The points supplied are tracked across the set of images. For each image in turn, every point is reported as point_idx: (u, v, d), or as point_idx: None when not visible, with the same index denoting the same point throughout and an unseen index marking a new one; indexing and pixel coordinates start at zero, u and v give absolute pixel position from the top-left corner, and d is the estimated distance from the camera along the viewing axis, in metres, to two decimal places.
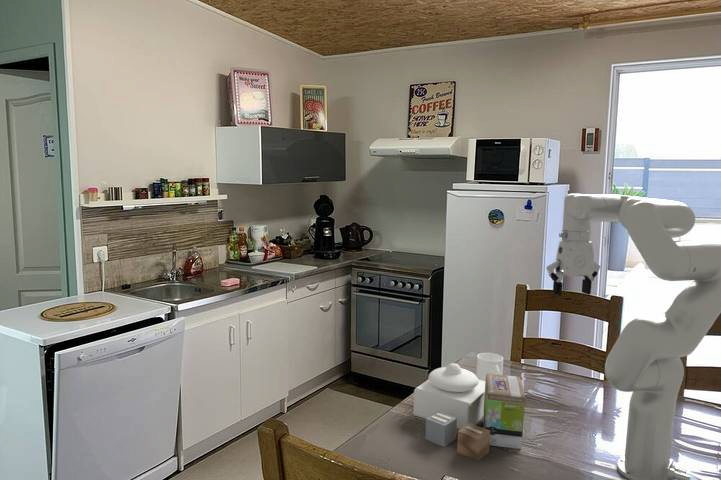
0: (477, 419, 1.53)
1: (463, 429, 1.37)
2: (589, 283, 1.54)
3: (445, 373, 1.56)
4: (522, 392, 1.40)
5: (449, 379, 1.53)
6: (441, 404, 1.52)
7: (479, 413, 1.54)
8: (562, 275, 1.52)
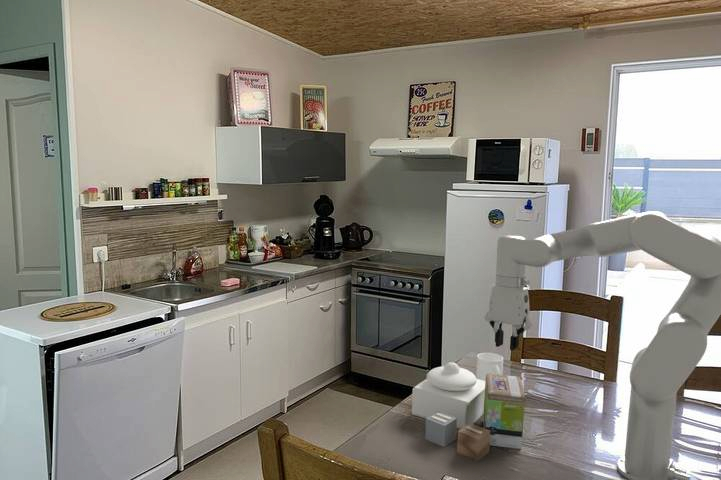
0: (475, 418, 1.54)
1: (463, 429, 1.37)
2: None
3: (443, 372, 1.57)
4: (522, 392, 1.40)
5: (447, 378, 1.54)
6: (440, 403, 1.52)
7: (477, 412, 1.55)
8: None
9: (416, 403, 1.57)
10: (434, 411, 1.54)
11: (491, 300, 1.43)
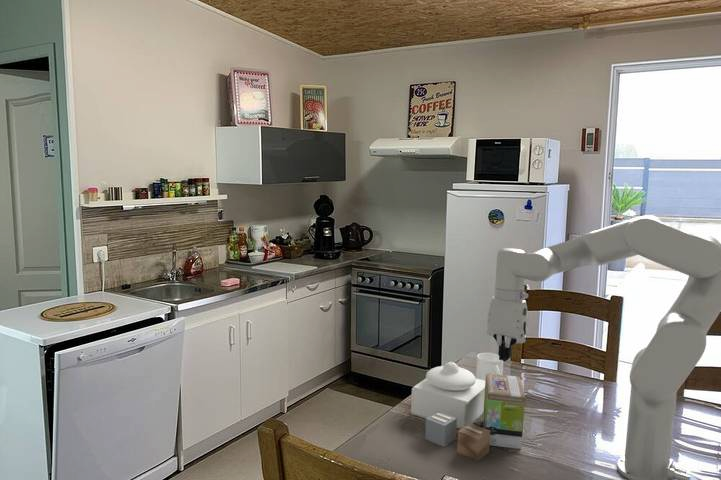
0: (474, 418, 1.54)
1: (463, 429, 1.37)
2: None
3: (442, 372, 1.57)
4: (522, 392, 1.40)
5: (446, 378, 1.54)
6: (439, 403, 1.53)
7: (476, 411, 1.55)
8: None
9: (415, 403, 1.57)
10: (433, 411, 1.54)
11: (490, 312, 1.44)
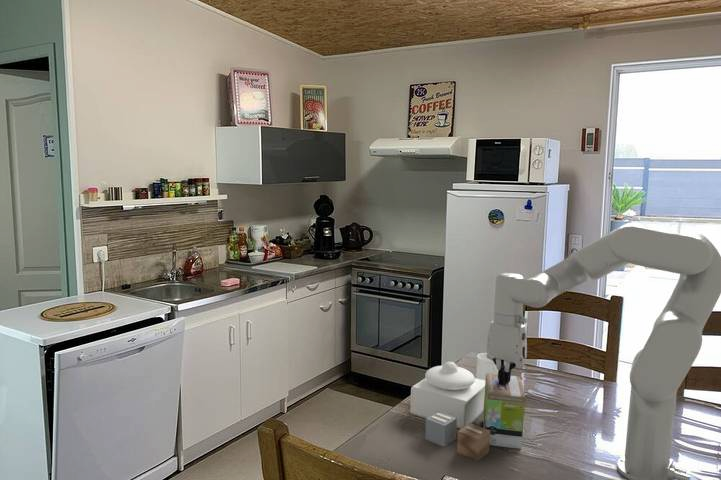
0: (473, 417, 1.55)
1: (463, 429, 1.37)
2: None
3: (441, 371, 1.58)
4: (522, 392, 1.40)
5: (445, 377, 1.54)
6: (438, 402, 1.53)
7: (475, 411, 1.56)
8: None
9: (414, 402, 1.58)
10: (432, 410, 1.54)
11: (489, 337, 1.44)
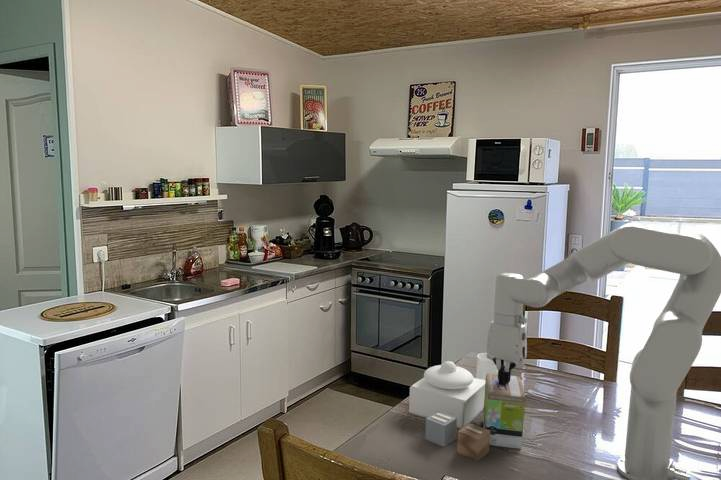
0: (472, 416, 1.55)
1: (463, 429, 1.37)
2: None
3: (440, 371, 1.58)
4: (522, 392, 1.40)
5: (444, 376, 1.55)
6: (437, 402, 1.53)
7: (474, 410, 1.56)
8: None
9: (413, 401, 1.58)
10: (431, 409, 1.55)
11: (489, 336, 1.44)
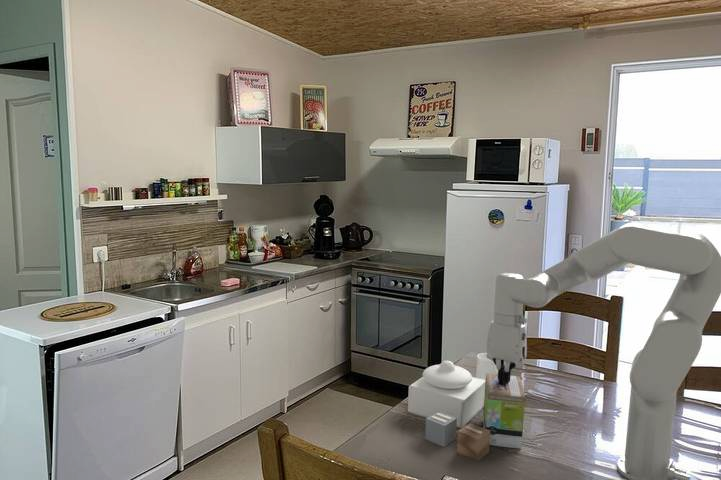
0: (471, 416, 1.55)
1: (463, 429, 1.37)
2: None
3: (439, 370, 1.58)
4: (522, 392, 1.40)
5: (443, 376, 1.55)
6: (435, 401, 1.54)
7: (472, 409, 1.56)
8: None
9: (412, 401, 1.58)
10: (430, 409, 1.55)
11: (489, 336, 1.44)
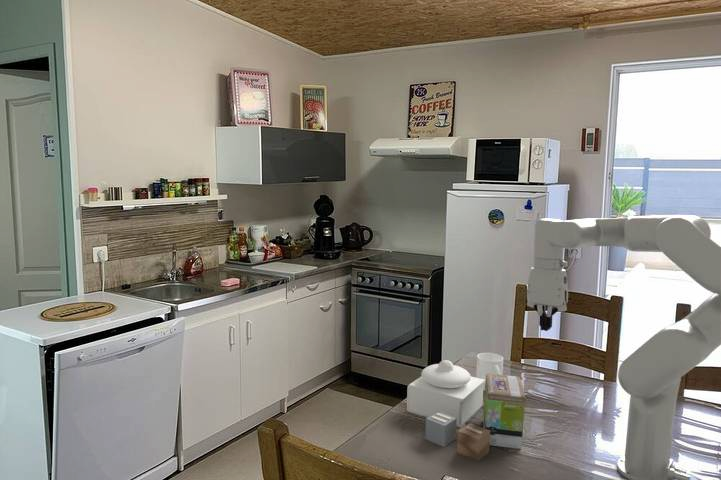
0: (469, 415, 1.56)
1: (463, 429, 1.37)
2: None
3: (438, 370, 1.59)
4: (522, 392, 1.40)
5: (441, 375, 1.56)
6: (434, 400, 1.54)
7: (471, 409, 1.57)
8: None
9: (411, 400, 1.59)
10: (429, 408, 1.56)
11: (529, 283, 1.45)
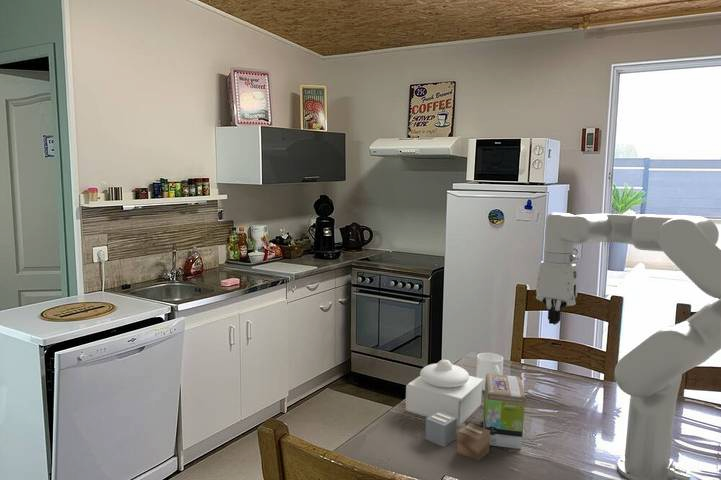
0: (468, 414, 1.56)
1: (463, 429, 1.37)
2: None
3: (436, 369, 1.59)
4: (522, 392, 1.40)
5: (440, 375, 1.56)
6: (433, 400, 1.55)
7: (470, 408, 1.57)
8: None
9: (410, 400, 1.59)
10: (427, 407, 1.56)
11: (539, 277, 1.46)
